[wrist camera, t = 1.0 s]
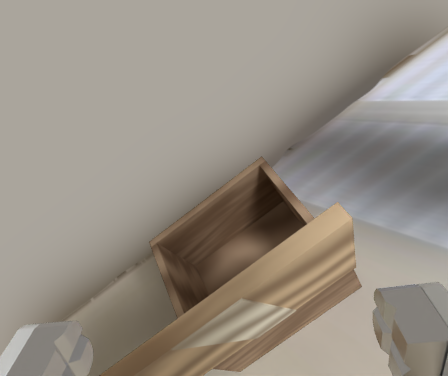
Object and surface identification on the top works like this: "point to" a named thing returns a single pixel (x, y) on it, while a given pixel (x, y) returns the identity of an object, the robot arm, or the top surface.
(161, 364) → the lid
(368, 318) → the top surface
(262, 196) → the wooden crate
